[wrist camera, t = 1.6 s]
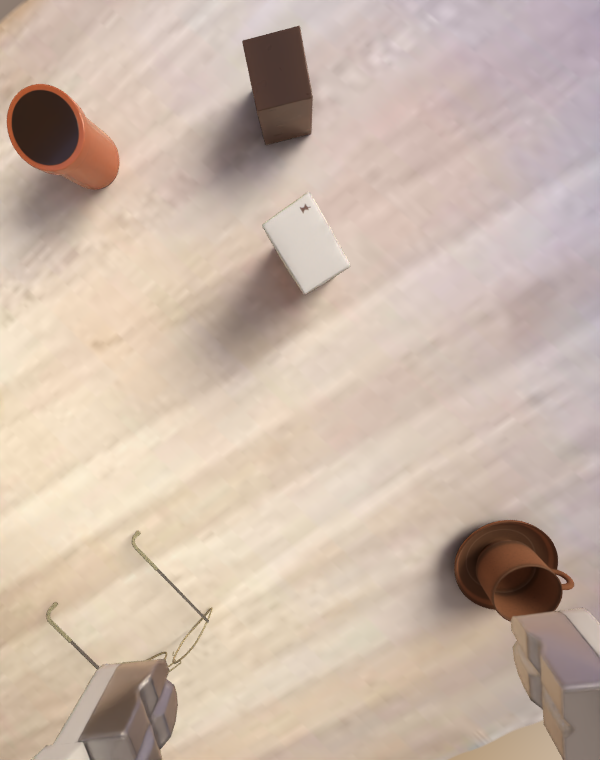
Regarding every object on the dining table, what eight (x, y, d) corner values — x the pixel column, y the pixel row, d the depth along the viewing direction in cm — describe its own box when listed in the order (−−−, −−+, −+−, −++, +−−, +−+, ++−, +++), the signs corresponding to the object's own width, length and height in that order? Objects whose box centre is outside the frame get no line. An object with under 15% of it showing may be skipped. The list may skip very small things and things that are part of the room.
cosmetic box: (273, 246, 38) (258, 222, 26) (308, 223, 37) (310, 187, 25) (304, 297, 39) (303, 296, 27) (338, 275, 38) (353, 264, 26)
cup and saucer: (535, 499, 43) (572, 531, 37) (556, 581, 46) (595, 623, 40) (437, 530, 44) (458, 566, 38) (463, 608, 47) (487, 654, 41)
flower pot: (71, 200, 37) (22, 179, 31) (50, 131, 36) (-7, 94, 29) (131, 185, 37) (94, 161, 30) (111, 115, 35) (68, 74, 29)
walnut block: (265, 145, 36) (256, 111, 29) (253, 88, 35) (241, 40, 28) (311, 134, 35) (312, 97, 29) (300, 76, 34) (299, 25, 28)
